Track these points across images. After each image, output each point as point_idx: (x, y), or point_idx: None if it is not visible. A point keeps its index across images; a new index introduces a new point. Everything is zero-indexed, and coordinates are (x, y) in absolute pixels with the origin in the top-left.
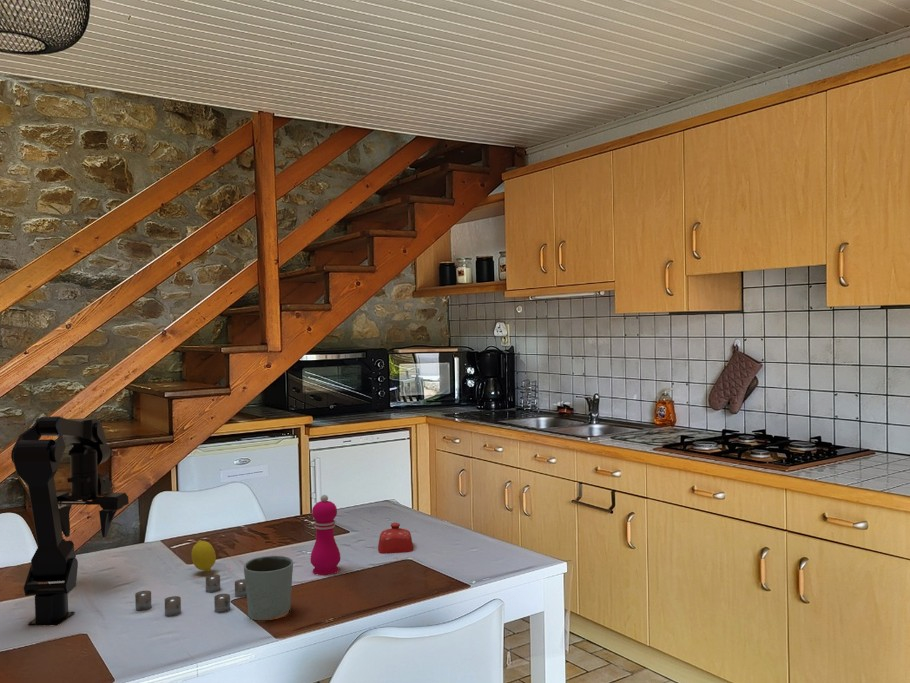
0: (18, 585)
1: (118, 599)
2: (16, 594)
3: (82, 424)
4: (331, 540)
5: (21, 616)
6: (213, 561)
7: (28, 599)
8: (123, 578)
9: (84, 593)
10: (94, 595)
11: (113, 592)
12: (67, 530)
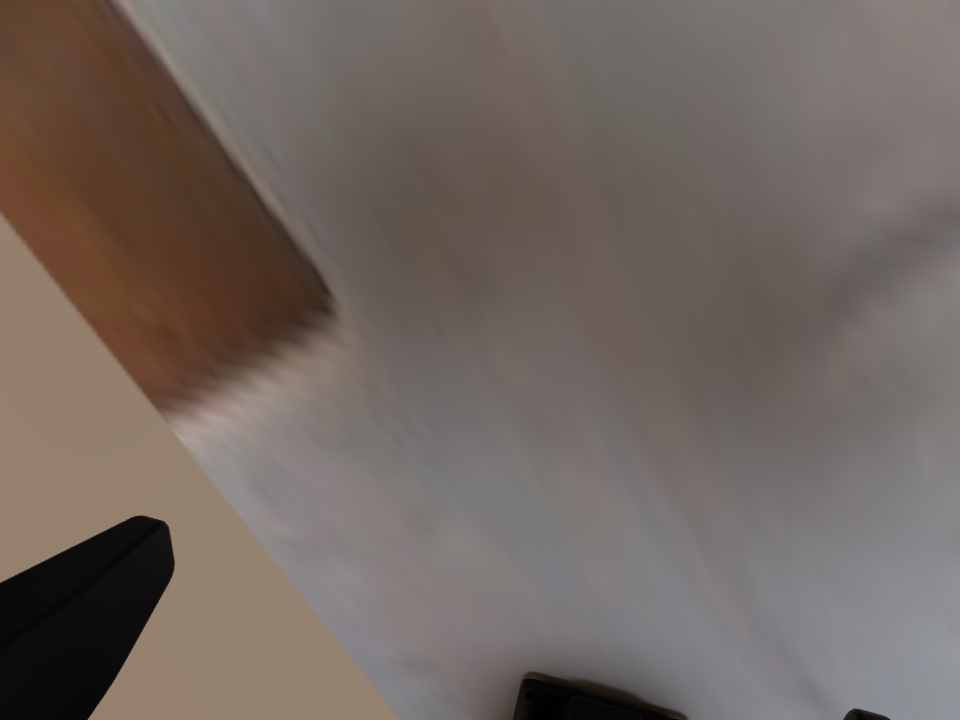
0: (15, 147)
1: (923, 569)
2: (144, 336)
3: None
4: None
5: (401, 650)
6: None
7: (281, 437)
8: (891, 53)
9: (614, 406)
10: (708, 459)
11: (854, 430)
12: (100, 649)
